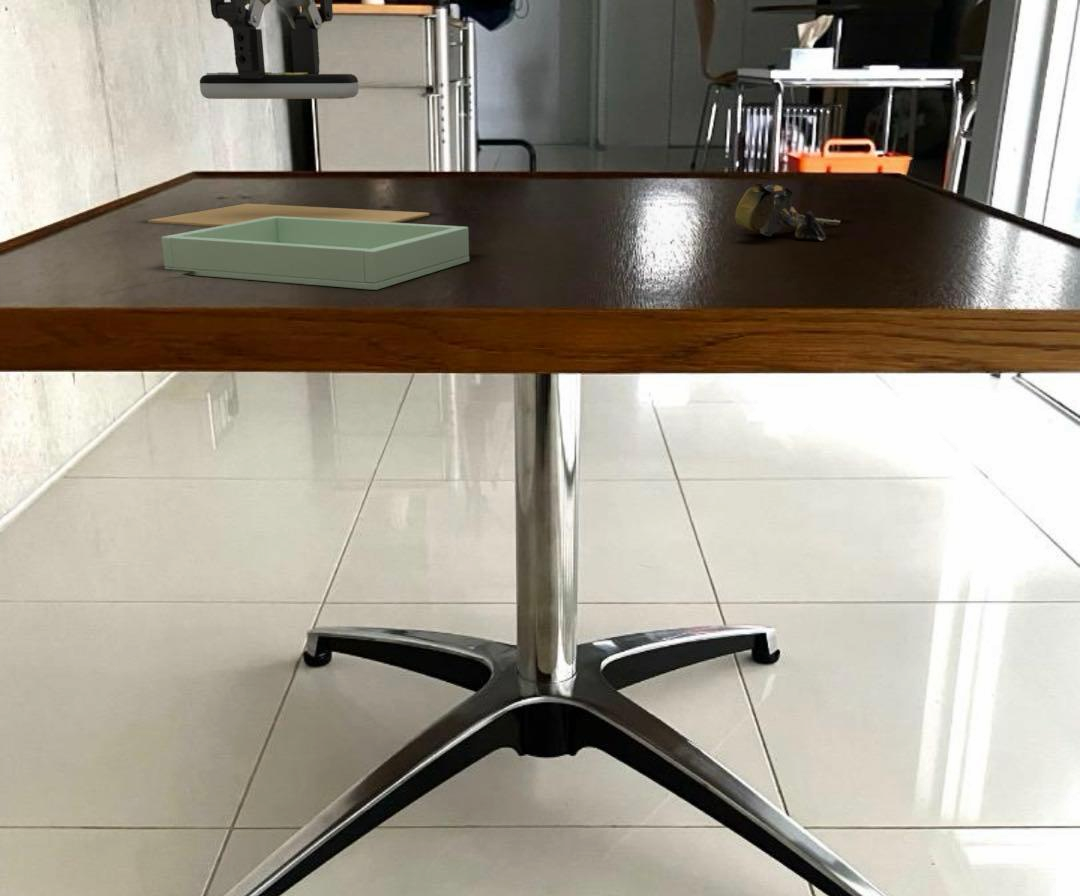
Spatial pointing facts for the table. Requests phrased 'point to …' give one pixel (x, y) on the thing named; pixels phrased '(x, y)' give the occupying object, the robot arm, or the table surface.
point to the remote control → (279, 86)
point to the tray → (318, 251)
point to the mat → (284, 214)
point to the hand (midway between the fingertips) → (280, 77)
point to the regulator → (776, 213)
